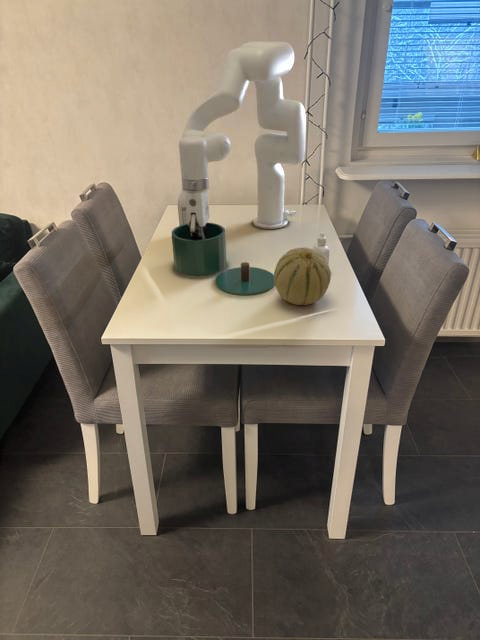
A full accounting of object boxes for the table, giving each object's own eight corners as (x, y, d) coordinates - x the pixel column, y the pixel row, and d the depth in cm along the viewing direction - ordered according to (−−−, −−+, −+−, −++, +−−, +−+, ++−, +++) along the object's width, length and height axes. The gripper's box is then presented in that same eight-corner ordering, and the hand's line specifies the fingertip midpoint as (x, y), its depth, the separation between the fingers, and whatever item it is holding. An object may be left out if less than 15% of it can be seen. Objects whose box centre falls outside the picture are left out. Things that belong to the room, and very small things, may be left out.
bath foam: (204, 236, 174) (200, 179, 164) (187, 241, 170) (183, 183, 160) (192, 231, 178) (188, 175, 168) (176, 236, 175) (171, 178, 164)
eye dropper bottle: (325, 267, 150) (328, 229, 144) (328, 275, 145) (331, 236, 139) (311, 267, 150) (313, 229, 144) (313, 275, 145) (315, 236, 139)
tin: (215, 253, 160) (214, 219, 155) (234, 272, 148) (233, 235, 142) (169, 262, 155) (165, 226, 150) (183, 282, 143) (180, 244, 137)
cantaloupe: (298, 283, 141) (300, 233, 133) (340, 301, 131) (345, 248, 124) (261, 301, 132) (261, 248, 124) (303, 321, 123) (306, 265, 115)
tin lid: (260, 266, 151) (260, 248, 148) (286, 290, 137) (287, 270, 134) (206, 276, 146) (205, 258, 143) (228, 302, 132) (227, 282, 129)
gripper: (202, 192, 131) (206, 256, 140) (214, 176, 146) (216, 235, 155) (174, 192, 132) (180, 255, 141) (188, 175, 147) (193, 234, 156)
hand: (199, 244), depth 148 cm, fingers closed on flask, 5 cm apart
